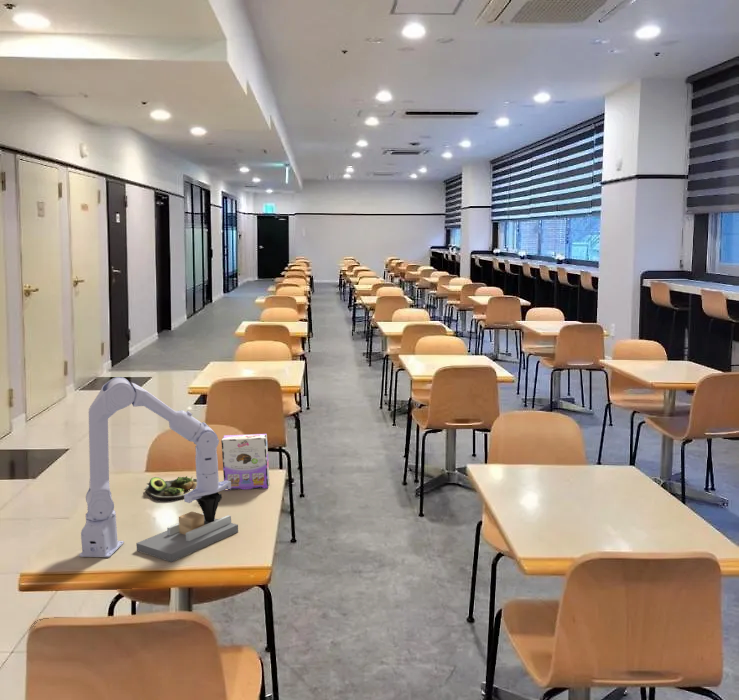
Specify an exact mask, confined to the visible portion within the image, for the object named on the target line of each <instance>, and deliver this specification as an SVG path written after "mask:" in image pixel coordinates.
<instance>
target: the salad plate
mask: <svg viewBox="0 0 739 700" xmlns="http://www.w3.org/2000/svg"><path fill="white" fill-rule="evenodd" d="M146 485H147V486H146V487H145V490H144V491H145V492H146V494H147V496H149V498H151V497H152V498H151V499H153V500H156V501H158V500H160V501H159V502H172V501H171V500H173V501H177V499H178V500H182V499H184V495H185V494H184V493H185V492H184V491H186V492H188V491H187V490H189V491H191V490H190V489H193V490H194V489H196V486H197V478H193V476H190V477H188V475H187V476H182V477H181V476H178V477H177V478H176V479H172V480H164V479H163V478H161V477H157V476H155V477H152V478H150V479H149V482H148V483H146Z"/></svg>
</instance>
